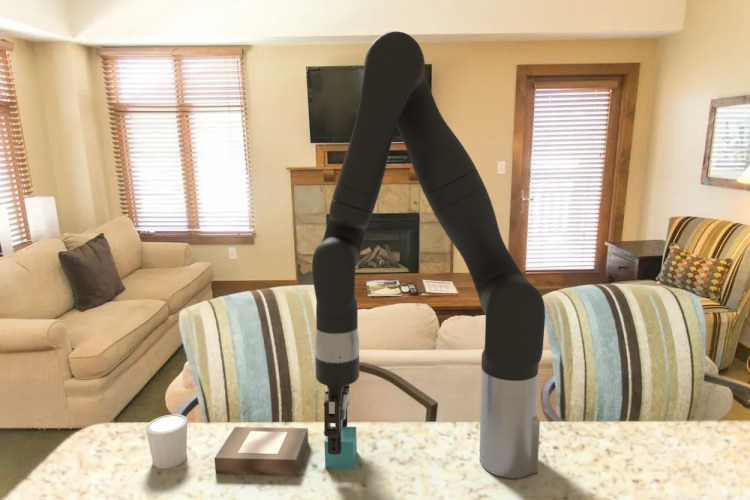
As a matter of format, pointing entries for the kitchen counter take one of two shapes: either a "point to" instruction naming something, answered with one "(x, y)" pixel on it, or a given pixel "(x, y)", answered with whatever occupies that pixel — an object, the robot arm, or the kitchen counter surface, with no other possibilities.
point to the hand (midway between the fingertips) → (338, 439)
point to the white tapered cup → (168, 440)
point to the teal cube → (343, 450)
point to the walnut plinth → (262, 451)
